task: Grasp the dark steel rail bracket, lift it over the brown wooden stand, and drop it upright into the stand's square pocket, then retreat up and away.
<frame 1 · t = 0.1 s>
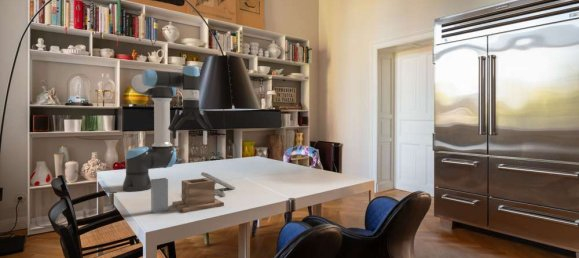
hand: (191, 145, 152), 28 cm above the table, fingers open, 13 cm apart
door handle: (223, 193, 177), on the table
brown wooden stand: (198, 205, 151), on the table
steel bracket: (159, 211, 142), on the table
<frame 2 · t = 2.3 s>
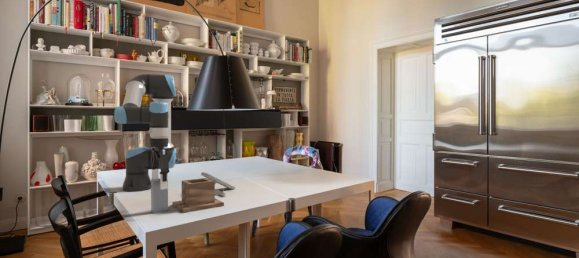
hand: (159, 186, 141), 11 cm above the table, fingers open, 13 cm apart
nothing on the table moved.
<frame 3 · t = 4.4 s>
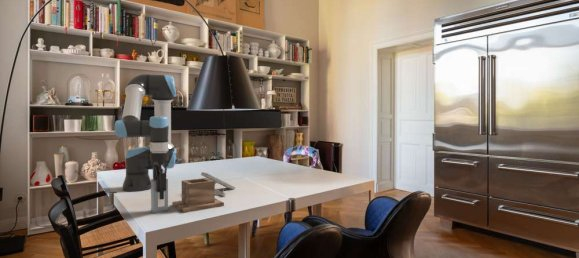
hand: (159, 205, 142), 3 cm above the table, fingers closed on steel bracket, 4 cm apart
steel bracket: (159, 211, 142), on the table, touching gripper
everything else where it was.
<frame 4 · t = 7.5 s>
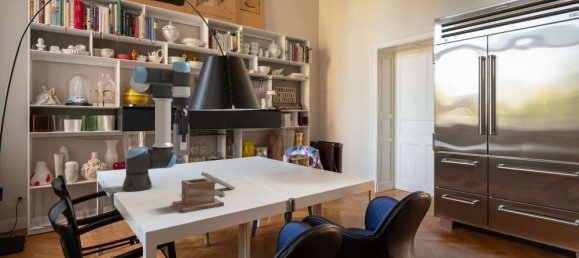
hand: (181, 149, 146), 27 cm above the table, fingers closed on steel bracket, 4 cm apart
steel bracket: (181, 155, 146), point 24 cm above the table, touching gripper
everything else where it was.
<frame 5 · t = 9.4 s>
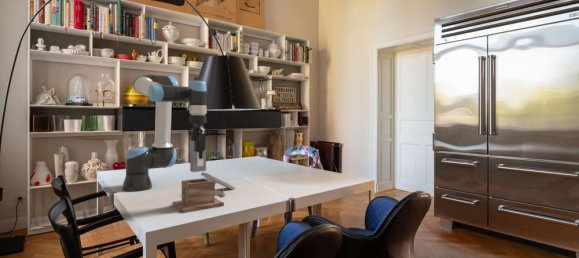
hand: (198, 165, 150), 19 cm above the table, fingers closed on steel bracket, 4 cm apart
steel bracket: (198, 170, 150), point 16 cm above the table, touching gripper
everything else where it was.
when the fingers open (16 cm above the table, at t = 10.7 s): steel bracket drops 7 cm, resting on brown wooden stand.
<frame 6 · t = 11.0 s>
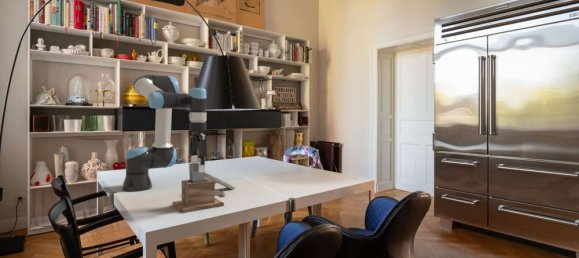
hand: (198, 170, 150), 16 cm above the table, fingers open, 8 cm apart
steel bracket: (198, 193, 151), point 6 cm above the table, tilted 5°, touching brown wooden stand
everything else where it was.
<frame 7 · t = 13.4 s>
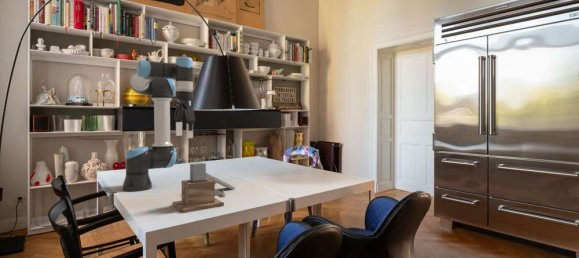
hand: (184, 136, 151), 32 cm above the table, fingers open, 13 cm apart
steel bracket: (198, 193, 151), point 5 cm above the table, touching brown wooden stand
everything else where it was.
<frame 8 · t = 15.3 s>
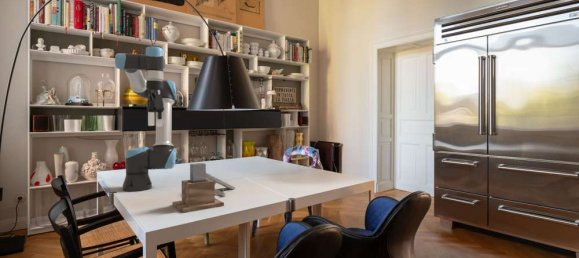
hand: (155, 126, 152), 37 cm above the table, fingers open, 13 cm apart
nothing on the table moved.
at the end: steel bracket 0.1 cm off-centre on the brown wooden stand, point 5.5 cm above the brown wooden stand's base; steel bracket tilted 0°; the gripper is holding nothing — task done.
